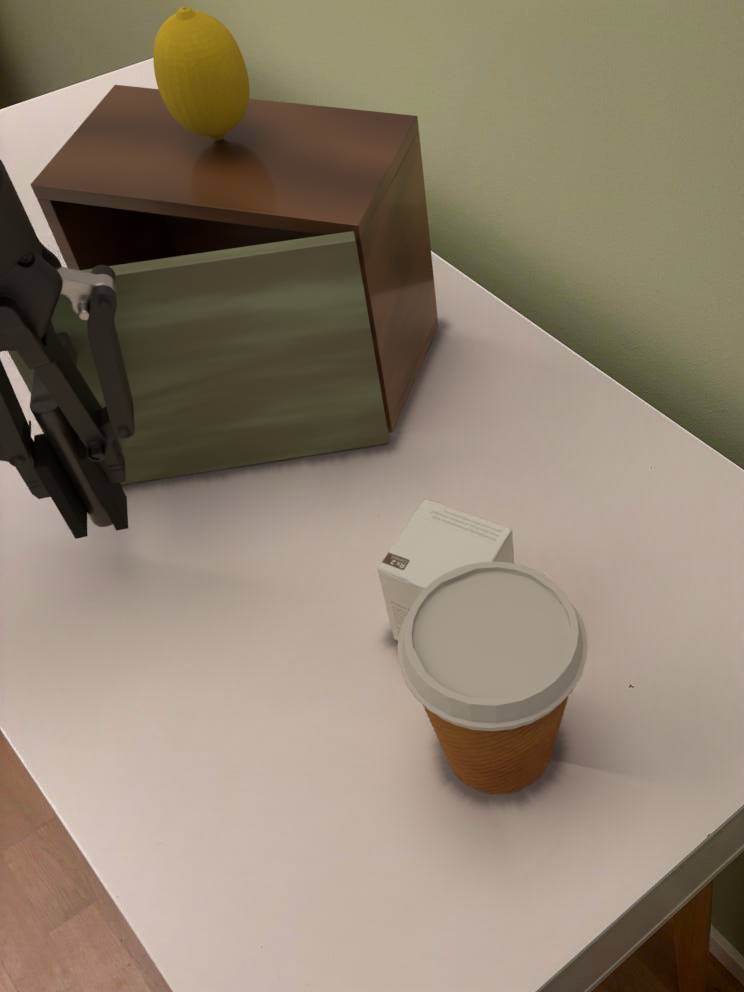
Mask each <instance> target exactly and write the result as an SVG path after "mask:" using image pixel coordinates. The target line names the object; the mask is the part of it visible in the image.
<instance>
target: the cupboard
mask: <svg viewBox="0 0 744 992" xmlns="http://www.w3.org/2000/svg"><path fill="white" fill-rule="evenodd" d="M418 119H419V117H418V115H412V114H402V113H394V112H383V111H374V110H373V111H372V110H366V109H365V110H364V109H354V108H346V107H345V108H344V107H334V106H325V105H317V104H308V103H307V104H306V103H295V102H288V101H277V100H266V99H258V98H249V100H248V106H247V110H246V112H245V115H244V117H243V118H242V120H241V121H240V123H239V124H238V125H237V126H236V127H235V128H234V129H232V130H231V131H229V132H228V133H226V135H225V136H224V138H223V139H222V140H218V141H217V140H214V139H212V138H211V137H209V136H201V135H198V134H195V133H193V132H191V131H189V130H187V129H186V128H184V127H183V126H182V125H181V124H179V123H178V122H177V121H176V120H175V119H174V118H173V116H172V115H171V114H170V112H169V110H168V109H167V107H166V105H165V103H164V101H163V99H162V97H161V94H160V92H159V89H158V88H150V87H142V86H132V85H131V86H130V85H120V84H114V85H113V86H112V87H111V89H109V91H108V92H107V93H106V95H105V96H104V97H103V99H101V100H100V102H99V103H98V104H97V105H96V106H95V108H93V110H92V111H91V112H90V113H89V114H88V116H87V117H86V118H85V119H84V121H83V122H82V123H81V124H80V125H79V126H80V127H79V126H78V127H79V128H78V127H77V128H78V129H77V128H76V129H77V130H76V131H75V132H74V131H73V134H72V135H71V136H70V137H69V138H68V140H66V142H65V143H64V144H63V145H62V147H61V148H59V149H58V151H57V152H56V154H55V155H54V156H52V158H51V160H50V161H49V162H48V163H47V164H46V165H45V166H44V168H43V169H42V170H41V172H39V173H38V175H37V176H36V177H35V178H34V179H33V181H32V182H31V183H30V187H31V190H32V191H33V194H34V196H35V198H36V200H37V202H38V204H39V207H40V209H41V211H42V214H43V216H44V218H45V220H46V223H47V224H48V225H47V226H48V227H49V229H50V232H51V233H52V236H53V238H54V240H55V243H56V245H57V248H58V250H59V252H60V254H61V256H62V258H63V261H64V263H65V265H66V268H70V269H74V270H86V269H93V268H94V267H95V266H98V265H106V266H114V265H121V264H128V263H135V262H142V261H149V260H156V259H163V258H170V257H177V256H183V255H190V254H197V253H204V252H211V251H218V250H225V249H232V248H239V247H246V246H253V245H260V244H267V243H274V242H281V241H288V240H295V239H301V238H308V237H315V236H322V235H329V234H336V233H343V232H350V231H354V233H355V239H356V245H357V251H358V257H359V263H360V269H361V275H362V281H363V287H364V293H365V299H366V305H367V311H368V317H369V322H370V328H371V334H372V340H373V346H374V352H375V358H376V364H377V370H378V376H379V382H380V388H381V394H382V400H383V406H384V412H385V418H386V423H387V429H388V433H389V432H390V433H392V432H393V431H394V429H395V427H396V424H397V423H398V420H399V417H400V415H401V413H402V410H403V408H404V406H405V404H406V401H407V399H408V397H409V394H410V392H411V389H412V387H413V385H414V383H415V380H416V378H417V376H418V373H419V370H420V369H421V368H422V364H423V362H424V359H425V358H426V356H427V353H428V351H429V348H430V346H431V343H432V342H433V339H434V336H435V334H436V332H437V330H438V327H439V319H438V318H439V317H438V307H437V297H436V286H435V277H434V266H433V257H432V248H431V236H430V226H429V218H428V206H427V196H426V188H425V178H424V167H423V155H422V147H421V137H420V128H419V120H418Z"/></svg>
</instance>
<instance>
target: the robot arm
mask: <svg viewBox="0 0 744 992" xmlns="http://www.w3.org/2000/svg"><path fill="white" fill-rule="evenodd" d="M60 294H62V295H65V296H66V297H68V298H69V299H70V301H71V303H72V309H73V310H74V312H75V313H76V314H78V316H79V318H80V319H81V320H87V331H88V339H89V344H90V347H91V351H92V355H93V359H94V362H95V366H96V370H97V374H98V378H99V381H100V385H101V389H102V393H103V396H104V400H105V404H106V407H104V408H102V407H101V405H100V404H99V402H98V401H97V399H96V397H95V396H94V394H93V393H92V391H91V389H90V388H89V386H88V385H87V383H86V381H85V380H84V378H83V377H82V375H81V373H80V372H79V370H78V369H77V367H76V365H75V364H74V362H73V361H72V359H71V357H70V356H69V354H68V353H67V351H66V349H65V348H64V346H63V345H62V343H61V341H60V340H59V338H58V337H57V335H56V333H55V331H54V327H53V324H52V321H51V319H52V316H53V313H54V310H55V308H56V305H57V302H58V299H59V296H60ZM116 308H117V301H116V278H115V272H114V270H113V269H112V268H110V267H109V266H106V265H98V266H95V267H94V268H93V269H92V271H91V273H88V272H83V271H79V270H74V269H70V268H67V266H62V262H61V261H60V260H59V258H58V257H57V255H56V254H54V253H53V252H52V251H51V250H50V249H48V248H47V247H46V246H45V244H43V243H42V242H41V240H40V239H39V237H38V236H37V233H36V231H35V228H34V226H33V224H32V222H31V220H30V217H29V216H28V214H27V211H26V209H25V206H24V205H23V202H22V201H21V199H20V196H19V195H18V192H17V190H16V188H15V186H14V183H13V181H12V179H11V177H10V174H9V173H8V170H7V168H6V167H5V164H4V162H3V161H2V159H0V353H2V352H8V351H17V352H18V353H19V355H20V356H21V358H22V359H23V361H24V362H25V364H26V365H27V367H28V368H29V369H34V371H35V372H36V374H37V375H38V376H39V378H40V379H41V381H42V382H43V384H44V385H45V387H46V388H47V390H48V391H49V393H50V394H51V396H52V397H53V399H54V400H55V402H56V403H57V405H58V406H59V408H60V409H61V411H62V412H63V414H64V415H65V417H66V418H67V420H68V421H69V422H70V424H71V425H72V427H73V428H74V430H75V431H76V433H77V434H78V460H79V462H80V464H81V466H82V468H83V469H84V471H85V473H86V475H87V477H88V479H89V481H90V482H91V484H92V486H93V488H94V490H95V492H96V494H97V495H98V497H99V499H100V501H101V503H102V505H103V507H104V508H105V510H106V512H107V514H108V516H109V518H110V520H111V521H112V523H113V524H112V525H113V527H114V529H115V531H121V530H126V529H129V513H128V511H129V510H128V496H127V494H126V492H125V491H124V488H123V486H122V484H120V483H121V482H125V479H126V469H125V458H124V456H123V454H122V452H121V450H120V448H119V445H118V443H117V441H116V438H118V437H120V438H129V437H131V436H133V434H134V433H135V427H134V408H133V399H132V394H131V390H130V386H129V382H128V378H127V373H126V369H125V365H124V361H123V356H122V352H121V348H120V344H119V339H118V335H117V331H116V327H115V323H114V317H115V312H116ZM0 462H7V463H9V465H11V466H12V467H14V468H15V469H16V471H17V472H18V474H19V475H20V477H21V479H22V481H23V482H24V483H25V486H26V487H27V488H28V490H29V493H31V495H32V496H34V497H35V498H36V499H38V500H41V499H46V498H51V500H52V502H53V504H54V505H55V507H56V509H57V510H58V512H59V513H60V515H61V517H62V518H63V520H64V522H65V523H66V525H67V527H68V529H69V530H70V533H72V536H73V537H74V539H75V540H76V539H82V538H86V537H87V538H88V513H87V511H86V509H85V507H84V506H83V504H82V502H81V500H80V498H79V497H78V495H77V493H76V491H75V489H74V488H73V486H72V484H71V482H70V480H69V478H68V477H67V475H66V473H65V471H64V469H63V468H62V466H61V464H60V462H59V460H58V459H57V457H56V455H55V453H54V451H53V450H52V448H51V446H50V444H49V442H48V440H47V439H46V437H45V435H44V433H39V434H34V435H33V437H32V421H31V420H27V418H26V416H25V413H24V411H23V408H22V406H21V404H20V401H19V398H18V396H17V394H16V392H15V389H14V388H13V385H12V382H11V380H10V378H9V376H8V373H7V372H6V369H5V367H4V364H3V362H2V359H1V358H0Z"/></svg>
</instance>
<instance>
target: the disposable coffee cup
mask: <svg viewBox="0 0 744 992" xmlns="http://www.w3.org/2000/svg"><path fill="white" fill-rule="evenodd" d="M588 645H589V643H588V634H587V631H586V626H585V624H584V622H583V619H582V616H581V615H580V612H579V611H578V609H577V608H576V607H575V605H574V604H573V603H572V602H571V600H570V599H569V597H568V595H567V594H566V593H565V592H564V591H563V590H562V588H561V587H559V585H558V584H557V583H555V582H554V581H553V580H552V579H550V578H549V577H548V576H546V575H544V574H542V572H539V571H537V570H535V569H532V568H530V567H528V566H526V565H522V564H517V563H514V564H513V563H507V562H480V563H475V564H469V565H465V566H462V567H459V568H456V569H454V570H452V571H450V572H447V573H445V574H443V575H442V576H440V577H439V578H437V579H436V580H434V581H433V582H432V583H431V584H430V585H428V586H427V587H426V588H425V589H424V590H423V591H422V592H421V593H420V595H419V596H418V598H417V599H416V600H415V602H414V604H413V605H412V607H411V609H410V611H409V613H408V615H407V616H406V618H405V620H404V622H403V625H402V627H401V630H400V633H399V639H398V641H397V646H396V649H397V662H398V667H399V670H400V673H401V676H402V678H403V681H404V684H405V685H406V687H407V688H408V689H409V691H410V692H411V694H412V695H413V697H414V698H415V699H416V700H417V701H418V702H419V703H420V704H421V705H422V706H423V708H424V711H425V713H426V715H427V717H428V719H429V722H430V725H431V727H432V729H433V731H434V733H435V736H436V738H437V740H438V742H439V743H440V746H441V748H442V751H443V752H444V755H445V757H446V760H447V762H448V765H449V767H450V769H451V770H452V771H453V773H454V775H455V776H456V777H457V778H458V779H459V780H460V781H461V782H462V783H464V784H465V785H467V786H468V787H470V788H472V789H475V790H477V791H479V792H483V793H488V794H496V795H501V794H510V793H514V792H519V791H521V790H523V789H524V788H526V787H528V786H530V785H532V784H533V783H534V782H536V781H538V779H539V778H540V777H541V776H542V775H543V774H544V772H545V771H546V769H547V767H548V765H549V763H550V762H551V760H552V756H553V751H554V747H555V744H556V741H557V737H558V734H559V730H560V727H561V723H562V720H563V716H564V713H565V710H566V706H567V703H568V700H569V696H570V695H571V694H572V693H573V691H574V690H575V688H576V686H577V684H578V682H579V681H580V680H581V678H582V675H583V672H584V668H585V665H586V662H587V659H588V658H587V657H588Z"/></svg>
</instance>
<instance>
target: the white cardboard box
mask: <svg viewBox="0 0 744 992" xmlns="http://www.w3.org/2000/svg"><path fill="white" fill-rule="evenodd" d="M513 535H514V534H513V529H512V528H510V527H507V526H504V525H502V524H498V523H495V522H492V521H489V520H487V519H484V518H481V517H479V516H475V515H473V514H470V513H467V512H464V511H461V510H458V509H455V508H453V507H450V506H447V505H445V504H441V503H438V502H436V501H433V500H430V499H427V498H425V499H424V500H423V501H422V502H421V503H420V505H419V506H418V508H417V509H416V510H415V512H414V514H413V515H412V517H411V518H410V520H409V521H408V523H407V524H406V525H405V527H404V528H403V530H402V532H401V533H400V534H399V536H398V538H397V539H396V540H395V542H394V543H393V545H392V546H391V548H390V549H389V550H388V552H387V554H386V555H385V557H384V558H383V559H382V561H381V562H380V563H379V565H378V567H377V569H376V570H377V574H378V578H379V582H380V587H381V590H382V594H383V598H384V603H385V606H386V610H387V611H386V612H387V615H388V619H389V623H390V627H391V632H392V636H393V639H394V640H395V641H397V642H398V639H399V633H400V630H401V627H402V625H403V622H404V620H405V618H406V616H407V615H408V613H409V611H410V609H411V607H412V605H413V604H414V602H415V600H416V599H417V598H418V596H419V595H420V593H421V592H422V591H423V590H424V589H425V588H426V587H427V586H428V585H430V584H431V583H432V582H433V581H434V580H436V579H437V578H439V577H440V576H442V575H443V574H445V573H447V572H450V571H452V570H454V569H456V568H459V567H462V566H465V565H469V564H475V563H480V562H507V563H513V564H515V553H514V550H515V549H514V536H513Z"/></svg>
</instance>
